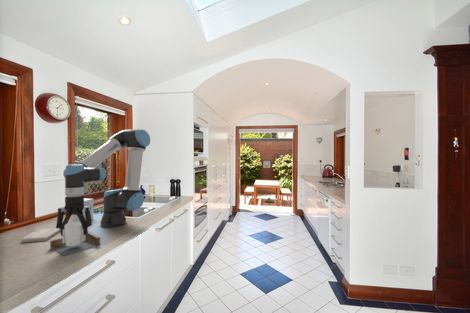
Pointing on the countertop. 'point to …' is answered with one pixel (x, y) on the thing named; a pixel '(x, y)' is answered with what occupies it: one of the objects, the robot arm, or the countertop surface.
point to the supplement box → (86, 203)
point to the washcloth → (41, 235)
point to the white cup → (73, 233)
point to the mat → (73, 249)
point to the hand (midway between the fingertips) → (74, 241)
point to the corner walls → (59, 243)
